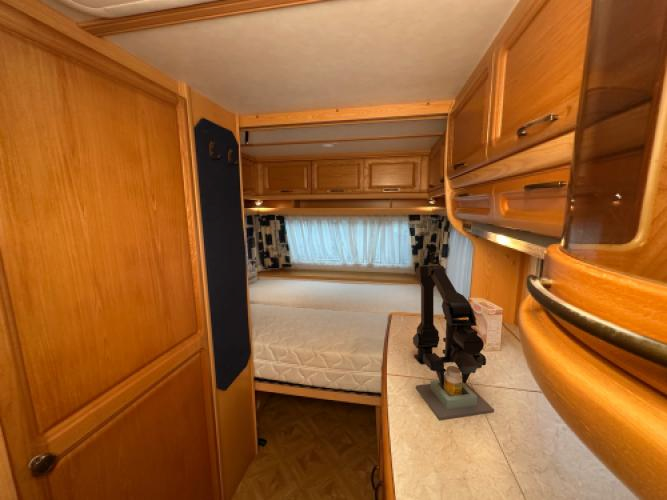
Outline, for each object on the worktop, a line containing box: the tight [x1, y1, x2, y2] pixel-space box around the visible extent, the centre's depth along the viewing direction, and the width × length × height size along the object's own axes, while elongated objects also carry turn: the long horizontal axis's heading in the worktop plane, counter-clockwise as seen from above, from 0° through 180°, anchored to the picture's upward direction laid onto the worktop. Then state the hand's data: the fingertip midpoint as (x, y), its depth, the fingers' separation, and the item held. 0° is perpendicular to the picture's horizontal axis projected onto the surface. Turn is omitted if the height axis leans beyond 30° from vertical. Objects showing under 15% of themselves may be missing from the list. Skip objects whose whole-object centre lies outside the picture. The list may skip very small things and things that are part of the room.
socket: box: [415, 379, 495, 421], centre depth 88 cm, size 15×18×4 cm
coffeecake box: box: [467, 297, 504, 352], centre depth 124 cm, size 15×7×20 cm, turn 4°
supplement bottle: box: [444, 365, 462, 397], centre depth 87 cm, size 5×5×10 cm
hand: (453, 383), depth 88 cm, fingers open, 7 cm apart
